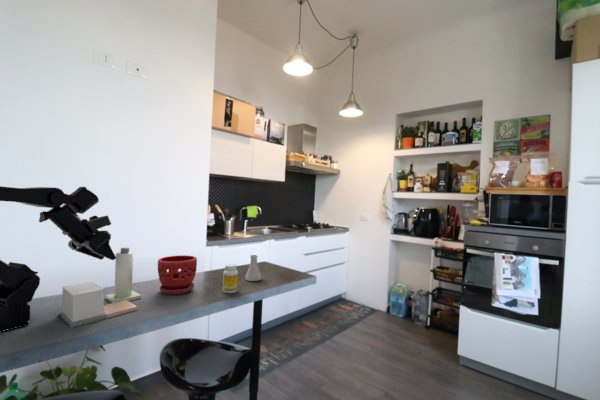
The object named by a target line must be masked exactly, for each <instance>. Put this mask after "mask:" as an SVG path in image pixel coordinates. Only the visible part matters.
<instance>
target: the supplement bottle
mask: <svg viewBox="0 0 600 400" xmlns="http://www.w3.org/2000/svg"><path fill="white" fill-rule="evenodd" d="M224 267H225V268H224V269H225V270H223V273H222V292H224V293H226V294H227V293H228V294H232V293H236V292H237V291H238V289H239V288H238V287H239V285H238V284H239V283H238V282H239V271H238V270H237V268H238V267H237V264H235V263H227V264H225V266H224Z"/></svg>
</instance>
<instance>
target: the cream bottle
mask: <svg viewBox="0 0 600 400" xmlns="http://www.w3.org/2000/svg"><path fill="white" fill-rule="evenodd" d="M115 257H116V259H115V268H114V269H115V270H114V287H113V288H114V291H113V294H114V297H116V298H123V297H128V296H131V295H132V290H133V272H134V252H133V251H130V247H121V248H120V252H118V251H117V252H116V253H115Z"/></svg>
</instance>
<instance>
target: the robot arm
mask: <svg viewBox="0 0 600 400" xmlns="http://www.w3.org/2000/svg"><path fill="white" fill-rule="evenodd" d="M99 200H100V199H99V197H98V195H96V194H95V193H94V192H93V191H91V190H90V189H88V188H87V186H79V187H78V188H77V189H76V190H74V191H73V192H72V193H70V194H68V193H64V191H63V189H61V188H59V187H51V186H50V187H48V186H46V187H45V186H37V187H35V186H34V187H10V186H9V187H8V186H0V202H13V203H19V204H24V205H27V206H33V207H37V208H49V210H47V211H43V210H42V211H41V212H39V219H38V222H39V223H43V222H46V221H48V220H49V221H51V222H52V223H53V224H54V225H55V226H56V227H57V228H58V229H60V231H61V234H62V235H64V236H67V237H68V238H69V239H70V240H69V241H68V244H67V245H68V247H69V248H70V249H71V250H72V251H75V252H78V253H81V254H83V255H86V256H89V257H92V258H95V259H99V260H103V259H104V258H106V259H108V260H110V261H116V254H115V253H114V251H113V250H112V246H110V241H111V239H112V237H111V236H112V234H111V233H110V232H109V231H108V230H99V229H101V228H104V227H107V226H108V227H109V226H111V225H112V222H111V220H110V217H109V215H101V216H100V217H99V216H97V215H93V216H90V217H89V218H88V219H85V218H81V216H79V215H78V214H80V215H81V214H82V215H83V214H85V213H87V211H88V210H90V209H91V208H93V206H95V205H97V204H98V203H99ZM38 273H39V272H38V271H34V270H32V269H31V268H30V266H28V265H27V264H26V263H21V262H20V263H18V262H12V261H9V262H8V263H6V262H5V261H3V260H2V259H0V331H3V330H6V329H11V328H15V327H19V326H24V325H28V324H29V321H30V320H31V305H30V304H29V303H30V302H32V300H33V298H34V296H35V293H36V291H37V289H38V287H39V286H40V284H41V282H40V281H41V277H40V276H39V275H37V274H38ZM28 326H29V325H28ZM24 327H25V326H24ZM3 332H4V331H3Z"/></svg>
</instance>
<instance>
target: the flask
mask: <svg viewBox="0 0 600 400" xmlns="http://www.w3.org/2000/svg"><path fill="white" fill-rule="evenodd" d="M249 257H250V262H249V263H250V264H249V266H248V269H247V272H246V274H245V277H244V280H245V281H248V282H256V281H257V282H258V281H262V275H261V273H260V269H259V266H258V255H257V254H251V255H250V256H249Z"/></svg>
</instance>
